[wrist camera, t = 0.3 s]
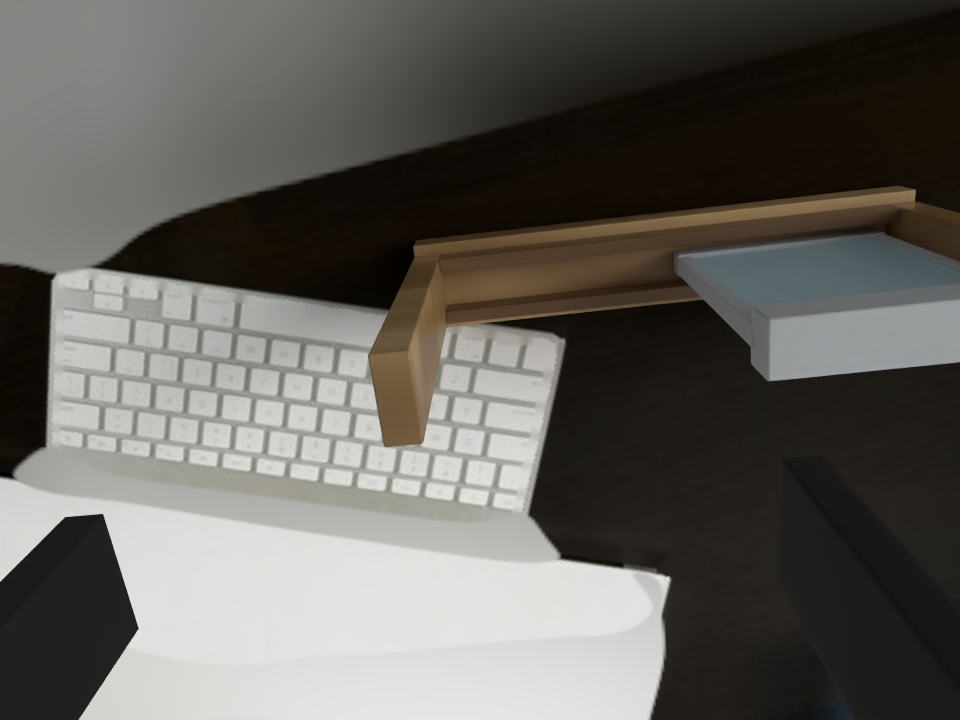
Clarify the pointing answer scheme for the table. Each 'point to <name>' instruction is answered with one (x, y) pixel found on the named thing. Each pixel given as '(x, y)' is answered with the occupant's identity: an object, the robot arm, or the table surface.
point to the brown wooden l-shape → (597, 275)
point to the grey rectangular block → (832, 302)
